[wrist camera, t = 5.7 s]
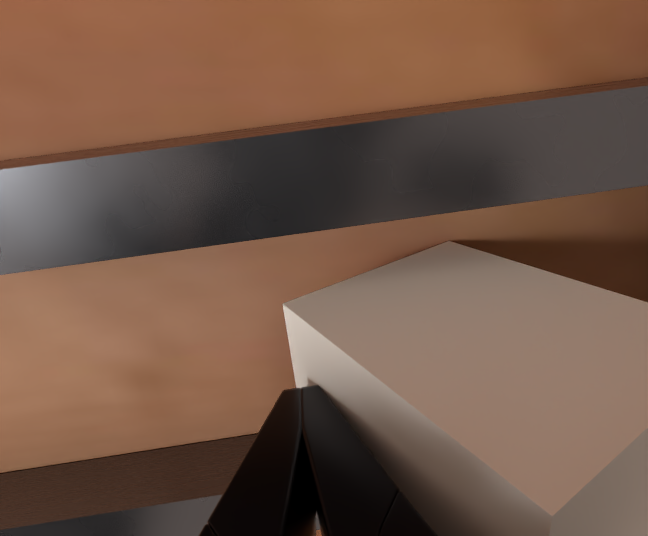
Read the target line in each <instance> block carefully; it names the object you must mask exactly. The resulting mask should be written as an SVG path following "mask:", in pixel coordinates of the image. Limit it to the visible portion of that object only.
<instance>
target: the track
mask: <svg viewBox="0 0 648 536" xmlns="http://www.w3.org/2000/svg"><path fill="white" fill-rule="evenodd" d="M646 185H648V77H646V78H639V79H631V80H623V81H615V82H608V83H600V84H592V85H584V86H577V87H569V88H561V89H553V90H546V91H538V92H530V93H523V94H515V95H507V96H499V97H492V98H484V99H476V100H468V101H461V102H453V103H445V104H437V105H430V106H422V107H414V108H406V109H399V110H391V111H383V112H375V113H368V114H360V115H352V116H344V117H337V118H329V119H321V120H314V121H306V122H298V123H290V124H283V125H275V126H267V127H259V128H252V129H244V130H236V131H228V132H221V133H213V134H205V135H197V136H190V137H182V138H174V139H166V140H159V141H151V142H143V143H135V144H128V145H120V146H112V147H104V148H97V149H89V150H81V151H74V152H66V153H58V154H50V155H43V156H35V157H27V158H19V159H12V160H4V161H0V275H3V274H11V273H18V272H25V271H32V270H40V269H47V268H54V267H61V266H68V265H76V264H83V263H90V262H97V261H105V260H112V259H119V258H126V257H133V256H141V255H148V254H155V253H162V252H169V251H177V250H184V249H191V248H198V247H206V246H213V245H220V244H227V243H234V242H242V241H249V240H256V239H263V238H270V237H278V236H285V235H292V234H299V233H307V232H314V231H321V230H328V229H335V228H343V227H350V226H357V225H364V224H371V223H379V222H386V221H393V220H400V219H408V218H415V217H422V216H429V215H436V214H444V213H451V212H458V211H465V210H473V209H480V208H487V207H494V206H501V205H509V204H516V203H523V202H530V201H537V200H545V199H552V198H559V197H566V196H574V195H581V194H588V193H595V192H602V191H610V190H617V189H624V188H631V187H638V186H646ZM256 436H257V434H255V435H248V436H242V437H235V438H229V439H223V440H216V441H210V442H203V443H197V444H190V445H184V446H177V447H171V448H164V449H158V450H152V451H145V452H139V453H132V454H126V455H119V456H113V457H106V458H100V459H93V460H87V461H81V462H74V463H68V464H61V465H55V466H48V467H42V468H35V469H29V470H23V471H16V472H10V473H3V474H0V536H199V534H200V532H201V531H202V529H203V527H204V525H205V524H208V523H207V521H208V519H209V517H210V515H211V514H212V512H213V510H214V509H215V507H216V505H217V503H218V502H219V500H220V498H221V496H222V495H223V493H224V491H225V490H226V488H227V486H228V484H229V483H230V481H231V479H232V477H233V476H234V474H235V472H236V471H237V469H238V467H239V465H240V464H241V462H242V460H243V459H244V457H245V455H246V453H247V452H248V450H249V448H250V446H251V445H252V443H253V441H254V440H255V438H256ZM316 530H320V525H319V520H318V516H317V511H316Z"/></svg>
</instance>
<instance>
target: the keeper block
mask: <svg viewBox="0 0 648 536" xmlns="http://www.w3.org/2000/svg"><path fill="white" fill-rule="evenodd" d="M283 310H284V316H285V322H286V328H287V334H288V340H289V346H290V352H291V359H292V365H293V371H294V377H295V383H296V388H302V387H306V386H312V385H318V386H320V387H321V388H322V390H323V391H324V392H325V393H326V395H327V396H328V397H329V399H330V400H331V401H332V402H333V404H334V405H335V406H336V408H337V409H338V410H339V411H340V413H341V414H342V415H343V417H344V418H345V419H346V421H347V422H348V423H349V424H350V426H351V427H352V428H353V430H354V431H355V432H356V433H357V435H358V436H359V437H360V439H361V440H362V441H363V442H364V444H365V445H366V446H367V448H368V449H369V450H370V452H371V453H372V454H373V455H374V457H375V458H376V459H377V461H378V462H379V463H380V464H381V466H382V467H383V468H384V470H385V471H386V472H387V473H388V475H389V476H390V477H391V479H392V480H393V481H394V482H395V484H396V485H397V486H398V488H399V489H400V492H402V493H403V494H404V495H405V496H406V498H407V499H408V500H409V502H410V503H411V504H412V505H413V507H414V508H415V509H416V510H417V512H418V513H419V514H420V515H421V516H422V518H423V519H424V520H425V521H426V522H427V524H428V525H429V526H430V527H431V528H432V530H433V531H434V532H435V533H436V534H437V535H438V536H648V302H645V301H641V300H638V299H635V298H632V297H629V296H625V295H622V294H619V293H616V292H612V291H609V290H606V289H603V288H600V287H596V286H593V285H590V284H587V283H583V282H580V281H577V280H574V279H571V278H567V277H564V276H561V275H558V274H554V273H551V272H548V271H545V270H541V269H538V268H535V267H532V266H529V265H525V264H522V263H519V262H516V261H512V260H509V259H506V258H503V257H500V256H496V255H493V254H490V253H487V252H483V251H480V250H477V249H474V248H471V247H467V246H464V245H461V244H458V243H454V242H451V241H447V242H445V243H442V244H439V245H437V246H434V247H431V248H429V249H426V250H423V251H421V252H418V253H415V254H413V255H410V256H408V257H405V258H402V259H400V260H397V261H394V262H392V263H389V264H386V265H384V266H381V267H378V268H376V269H373V270H370V271H368V272H365V273H362V274H360V275H357V276H354V277H352V278H349V279H346V280H344V281H341V282H338V283H336V284H333V285H330V286H328V287H325V288H322V289H320V290H317V291H314V292H312V293H309V294H306V295H304V296H301V297H299V298H296V299H293V300H291V301H288V302H285V303H283Z"/></svg>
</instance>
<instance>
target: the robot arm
mask: <svg viewBox="0 0 648 536" xmlns="http://www.w3.org/2000/svg"><path fill="white" fill-rule="evenodd" d="M316 511H317V516H318V520H319V525H320V529H321V534H322V536H438V535H437V534H436V533H435V532H434V531H433V530H432V528H431V527H430V526H429V525H428V524H427V522H426V521H425V520H424V519H423V518H422V516H421V515H420V514H419V513H418V512H417V510H416V509H415V508H414V507H413V505H412V504H411V503H410V502H409V500H408V499H407V498H406V496H405V495H404V494H403V493H402V492H400V489H399V488H398V486H397V485H396V484H395V482H394V481H393V480H392V479H391V477H390V476H389V475H388V473H387V472H386V471H385V470H384V468H383V467H382V466H381V464H380V463H379V462H378V461H377V459H376V458H375V457H374V455H373V454H372V453H371V452H370V450H369V449H368V448H367V446H366V445H365V444H364V442H363V441H362V440H361V439H360V437H359V436H358V435H357V433H356V432H355V431H354V430H353V428H352V427H351V426H350V424H349V423H348V422H347V421H346V419H345V418H344V417H343V415H342V414H341V413H340V411H339V410H338V409H337V408H336V406H335V405H334V404H333V402H332V401H331V400H330V399H329V397H328V396H327V395H326V393H325V392H324V391H323V390H322V388H321V387H320V386H318V385H312V386H306V387H302V388H293V389H286V390H284V391H283V392H282V393H281V395H280V396H279V398H278V400H277V402H276V403H275V405H274V407H273V408H272V410H271V412H270V414H269V415H268V417H267V419H266V421H265V422H264V424H263V426H262V427H261V429H260V431H259V433H258V434H257V436H256V438H255V440H254V441H253V443H252V445H251V446H250V448H249V450H248V452H247V453H246V455H245V457H244V459H243V460H242V462H241V464H240V465H239V467H238V469H237V471H236V472H235V474H234V476H233V477H232V479H231V481H230V483H229V484H228V486H227V488H226V490H225V491H224V493H223V495H222V496H221V498H220V500H219V502H218V503H217V505H216V507H215V509H214V510H213V512H212V514H211V515H210V517H209V519H208V521H207V523H208V524H205V525H204V527H203V529H202V531H201V532H200V534H199V536H316Z"/></svg>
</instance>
